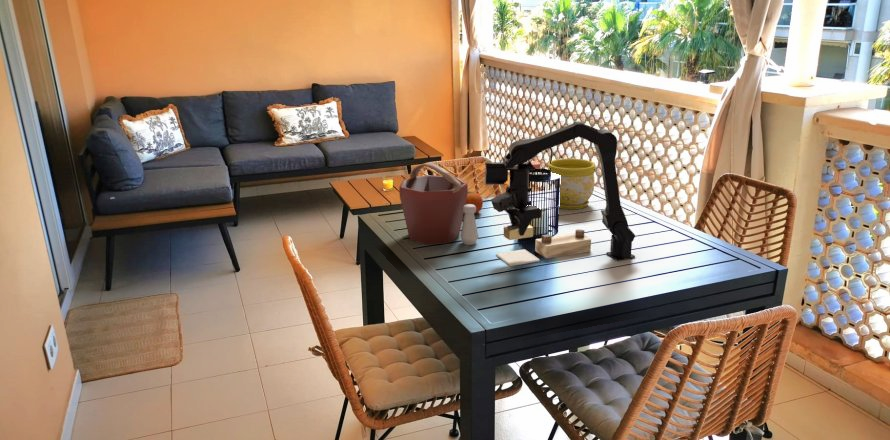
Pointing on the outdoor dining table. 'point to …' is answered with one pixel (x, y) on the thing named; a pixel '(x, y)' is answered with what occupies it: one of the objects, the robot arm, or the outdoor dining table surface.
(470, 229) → the salt shaker
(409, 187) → the bucket
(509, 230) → the tan slotted block
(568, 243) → the plane body
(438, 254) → the outdoor dining table surface
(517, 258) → the mat
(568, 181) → the flowerpot
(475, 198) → the fruit
